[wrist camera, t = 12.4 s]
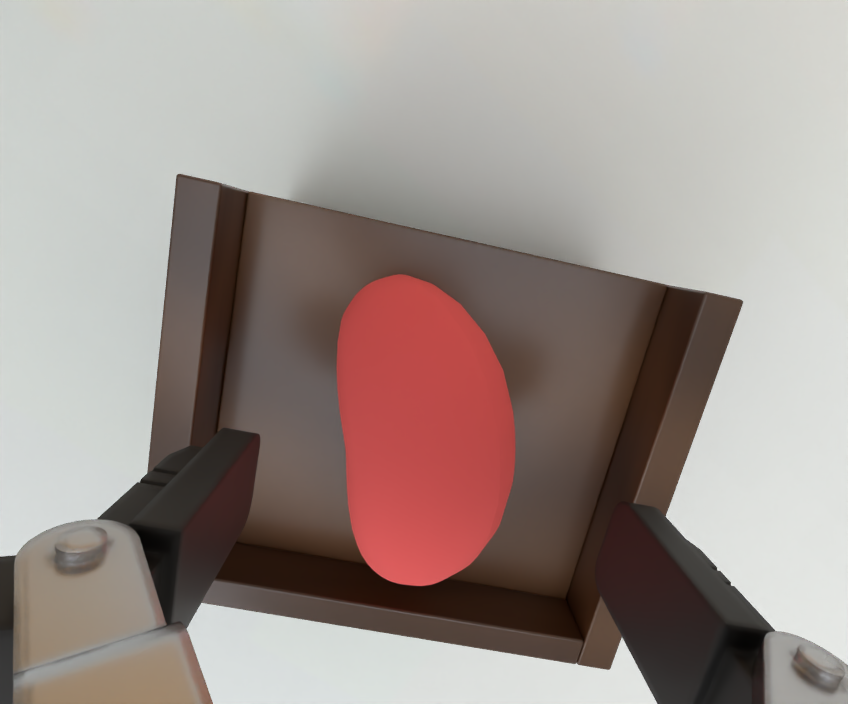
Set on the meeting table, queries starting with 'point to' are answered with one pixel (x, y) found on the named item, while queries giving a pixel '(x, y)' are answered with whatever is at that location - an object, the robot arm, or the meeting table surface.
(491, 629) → the rack
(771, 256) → the meeting table surface
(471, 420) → the red rounded oblong piece
